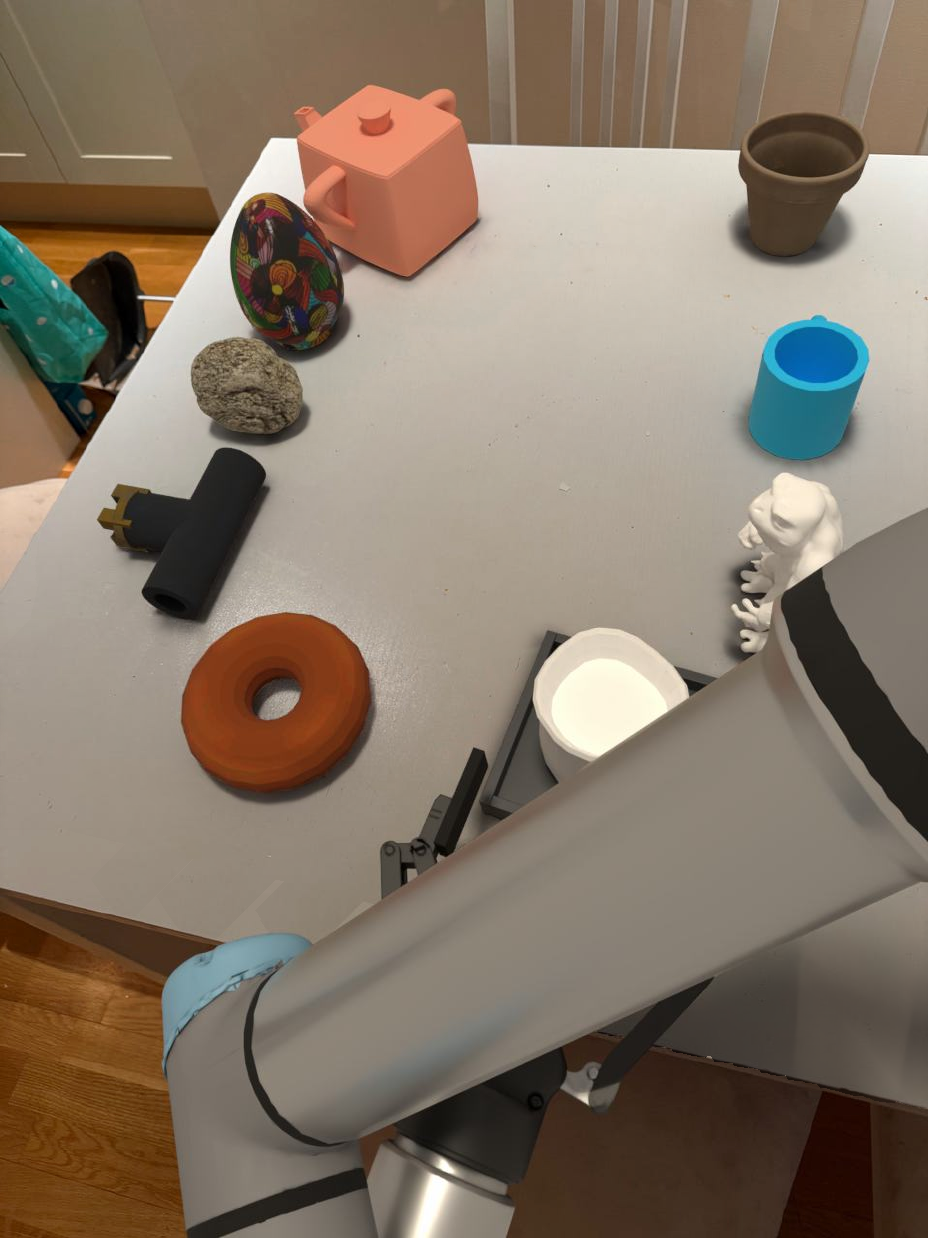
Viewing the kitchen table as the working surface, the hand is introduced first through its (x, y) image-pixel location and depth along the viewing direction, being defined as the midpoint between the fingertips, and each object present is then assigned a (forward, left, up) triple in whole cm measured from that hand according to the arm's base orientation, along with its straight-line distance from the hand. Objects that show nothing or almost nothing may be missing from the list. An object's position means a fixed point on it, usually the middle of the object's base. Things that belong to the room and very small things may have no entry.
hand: (582, 790), depth 55 cm
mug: (-6, -43, -9) cm, 44 cm away
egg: (+44, -41, -9) cm, 61 cm away
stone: (+42, -28, -9) cm, 51 cm away
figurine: (-8, -21, -9) cm, 24 cm away
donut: (+25, -1, -9) cm, 27 cm away
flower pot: (0, -66, -9) cm, 67 cm away
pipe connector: (+42, -13, -9) cm, 45 cm away
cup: (0, -6, -8) cm, 10 cm away
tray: (0, -6, -9) cm, 11 cm away
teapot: (+43, -59, -9) cm, 74 cm away
